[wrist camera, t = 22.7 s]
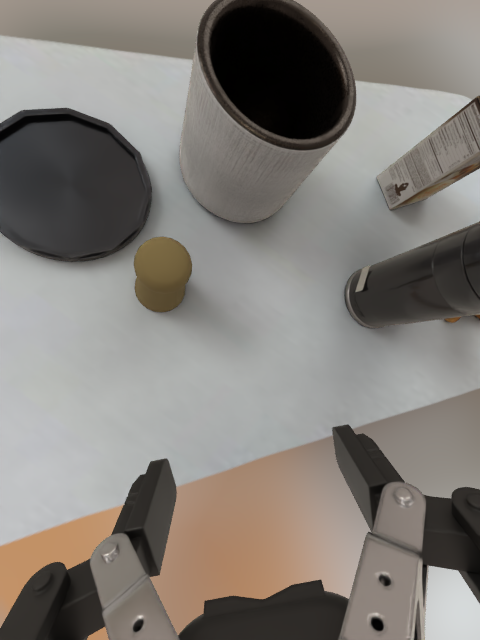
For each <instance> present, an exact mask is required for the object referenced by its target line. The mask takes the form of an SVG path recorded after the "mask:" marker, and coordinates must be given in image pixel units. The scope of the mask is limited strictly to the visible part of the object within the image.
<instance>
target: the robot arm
mask: <svg viewBox="0 0 480 640" xmlns="http://www.w3.org/2000/svg"><path fill="white" fill-rule="evenodd" d="M345 300H346V305H347V308H348V310H349V312H350V314H351V315H352V317H353V318H354V319H355V320H356V321H357V322H358V323H359V324H361V325H363V326H365V327H368V328H380V327H384V326H391V325H400V324H408V323H416V322H424V321H431V320H439V319H447V318H455V317H463V316H471V315H478V314H480V222H477V223H475V224H472V225H470V226H468V227H465V228H463V229H460V230H458V231H455V232H453V233H451V234H448V235H446V236H443V237H441V238H439V239H436V240H434V241H431V242H429V243H426V244H424V245H421V246H419V247H416V248H414V249H412V250H409V251H407V252H404V253H402V254H399V255H397V256H394V257H392V258H389V259H387V260H385V261H382V262H380V263H377V264H374V265H372V266H370V265H369V266H366V267H364V268H363V269H361V270H358V271H356V272H355V273H354V274H353V275H352V276H351V277H350V278H349V280H348V282H347V285H346V289H345ZM332 431H333V439H334V446H335V454H336V459H337V462H338V465H339V468H340V470H341V472H342V474H343V476H344V478H345V480H346V482H347V484H348V486H349V488H350V490H351V492H352V494H353V496H354V498H355V500H356V502H357V504H358V506H359V508H360V510H361V512H362V514H363V516H364V518H365V520H366V522H367V524H368V526H369V528H370V530H371V532H372V533H371V532H368V533H367V535H366V538H365V541H364V545H363V549H362V553H361V556H360V561H359V564H358V568H357V572H356V575H355V579H354V583H353V587H352V591H351V594H350V598H349V599H347V598H345V597H343V596H341V595H338V594H335V593H332V592H327V591H324V588H323V585H322V581H321V580H316V581H311V582H306V583H300V584H294V585H291V586H289V587H288V588H286V589H284V590H282V591H280V592H278V593H276V594H274V595H272V596H270V597H268V598H266V599H254V598H245V597H239V596H229V597H224V598H218V599H213V600H207V601H205V603H204V614H202V615H200V616H199V617H197V618H196V619H194V620H193V621H192V622H191V623H190V624H188V625H187V626H186V627H185V628H184V629H183V631H182V632H181V633H180V634H179V635H177V633H176V631H175V629H174V627H173V625H172V623H171V621H170V619H169V617H168V615H167V613H166V611H165V609H164V606H163V604H162V602H161V601H160V598H159V596H158V594H157V592H156V590H155V588H154V586H153V584H152V582H151V580H150V578H149V577H152V576H158V575H160V570H161V566H162V561H163V557H164V552H165V548H166V543H167V538H168V534H169V529H170V525H171V520H172V515H173V511H174V506H175V502H176V485H175V481H174V478H173V474H172V471H171V468H170V464H169V461H168V459H161V460H156V461H151V462H150V464H149V466H148V469H147V472H146V474H144V475H140V476H139V477H138V479H137V480H136V481H135V482H134V483H133V485H132V487H131V489H130V491H129V494H128V497H127V499H126V501H125V505H124V506H123V508H122V511H121V513H120V515H119V518H118V520H117V522H116V525H115V527H114V530H113V532H112V534H111V536H109V537H108V538H106V539H105V540H103V541H102V542H101V543H100V544H99V545H98V546H97V547H96V549H95V550H94V552H93V554H92V556H91V558H90V559H89V560H87V561H85V562H83V563H81V564H79V565H77V566H75V567H73V568H71V569H68V570H67V569H66V567H65V565H64V564H63V563H61V562H55V563H51V564H49V565H47V566H45V567H43V568H42V569H41V570H39V571H38V572H36V573H35V574H34V575H33V576H32V577H31V578H30V580H29V581H28V582H27V583H26V585H25V586H24V588H23V589H22V591H21V593H20V595H19V596H18V598H17V600H16V602H15V603H14V605H13V607H12V609H11V610H10V612H9V614H8V616H7V617H6V619H5V621H4V623H3V625H2V626H1V628H0V640H87V638H88V636H89V635H91V634H93V633H94V632H96V631H98V630H100V629H101V628H103V627H106V630H107V634H108V638H109V640H425V612H426V597H427V582H428V567H429V566H435V567H441V568H447V569H453V570H458V571H459V572H460V574H461V575H462V577H463V579H464V580H465V582H466V583H467V585H468V586H469V588H470V589H471V591H472V592H473V594H474V595H475V597H476V598H477V600H478V602H479V603H480V490H479V489H475V488H470V487H463V488H458V489H456V490H455V491H454V492H453V493H452V499H450V498H439V497H430V496H426V495H423V494H422V493H421V492H420V491H419V490H418V489H417V488H416V487H414V486H412V485H410V484H407V483H405V482H404V480H403V479H402V478H401V477H400V475H399V474H398V473H397V471H396V470H395V469H394V467H393V466H392V465H391V463H390V462H389V461H388V459H387V458H386V457H385V456H384V454H383V453H382V451H381V450H379V447H378V446H377V445H376V443H375V442H374V441H373V440H372V439H371V438H369V437H368V436H366V435H365V434H358V435H356V434H355V433H354V431H353V430H352V428H351V427H350V426H349V425H343V426H338V427H333V428H332Z"/></svg>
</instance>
